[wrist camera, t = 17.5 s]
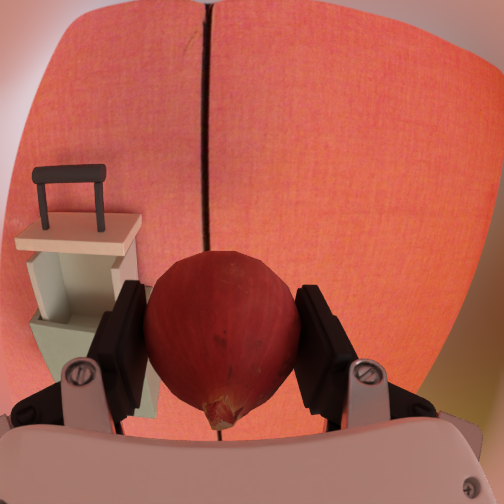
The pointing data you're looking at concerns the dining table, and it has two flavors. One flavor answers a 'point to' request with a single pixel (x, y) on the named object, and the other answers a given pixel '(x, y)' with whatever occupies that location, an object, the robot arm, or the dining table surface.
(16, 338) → the dining table surface
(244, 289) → the onion
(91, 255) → the drawer
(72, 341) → the cabinet
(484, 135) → the dining table surface
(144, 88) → the dining table surface
